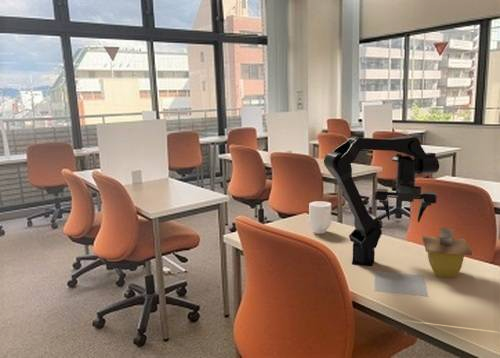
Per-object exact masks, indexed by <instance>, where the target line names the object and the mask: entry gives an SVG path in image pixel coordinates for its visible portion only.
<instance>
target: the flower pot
mask: <svg viewBox="0 0 500 358" xmlns="http://www.w3.org/2000/svg"><path fill="white" fill-rule="evenodd" d="M464 257H465V255H460V254H447V253H434V252H427V258H428V262H429V263H428V264H429V265H430V268H431V269H432V271H433V273H434V276H435V277H438V278H439V277H440V278H441V277H442V278H455V277H456V276H457V275H458V274H459V273H460V272H461V269H462V266H463V262H464Z"/></svg>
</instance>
